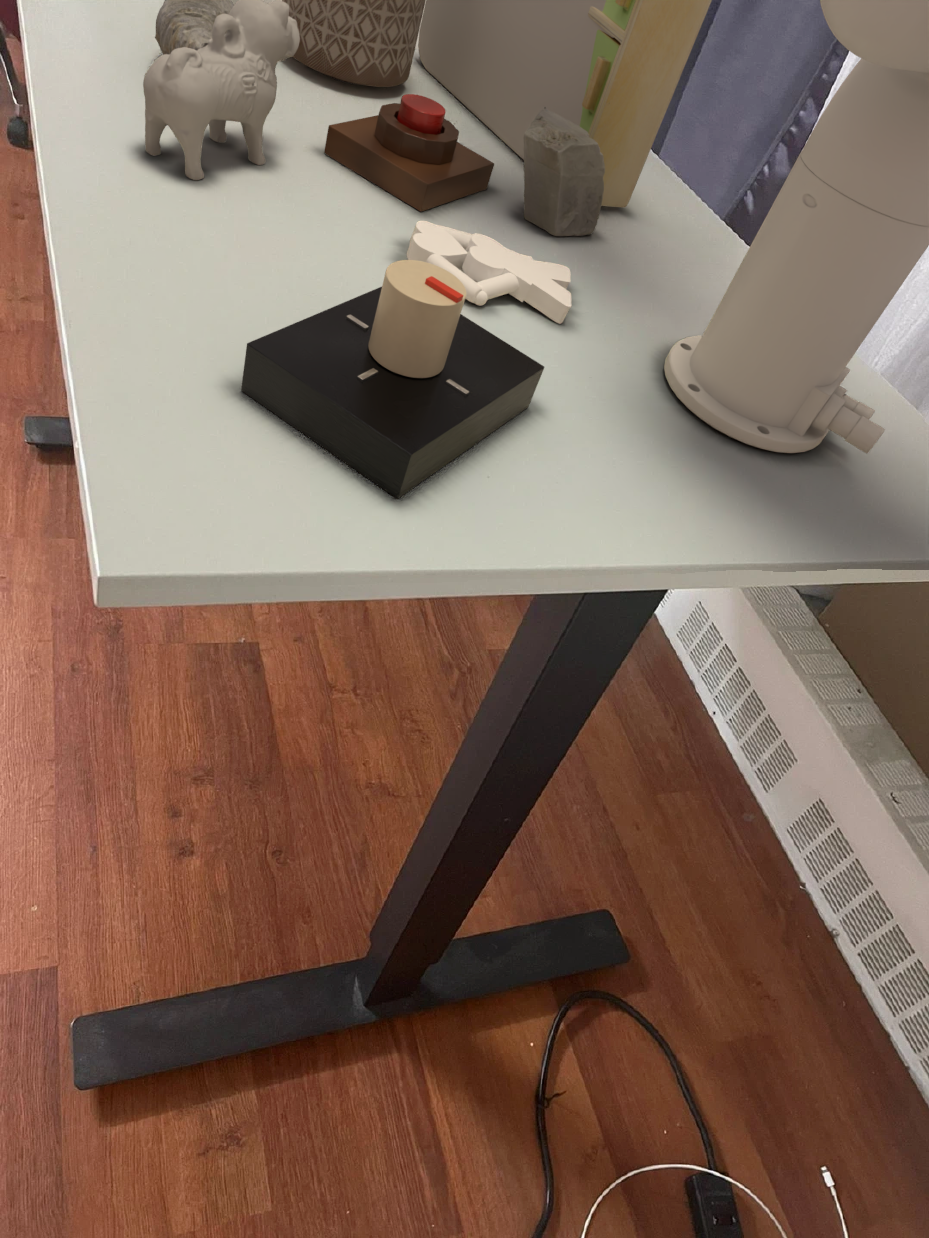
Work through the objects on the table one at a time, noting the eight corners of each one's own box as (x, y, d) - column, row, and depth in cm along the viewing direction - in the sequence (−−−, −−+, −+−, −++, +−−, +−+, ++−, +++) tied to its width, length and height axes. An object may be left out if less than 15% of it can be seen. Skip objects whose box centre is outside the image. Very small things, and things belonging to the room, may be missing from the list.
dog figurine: (300, 155, 71) (324, 3, 64) (186, 187, 63) (198, 14, 55) (248, 125, 72) (265, -29, 65) (128, 152, 63) (132, -23, 56)
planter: (267, 29, 88) (282, -100, 81) (391, 58, 93) (415, -61, 86) (285, 81, 81) (303, -56, 73) (418, 109, 85) (448, -16, 78)
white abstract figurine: (414, 222, 68) (424, 195, 66) (557, 285, 71) (569, 261, 69) (400, 276, 62) (411, 248, 60) (558, 343, 64) (571, 317, 63)
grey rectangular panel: (621, 197, 85) (711, -22, 72) (559, 194, 81) (643, -39, 68) (472, 66, 99) (526, -138, 86) (412, 58, 95) (459, -158, 82)
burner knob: (352, 347, 50) (370, 266, 46) (398, 324, 53) (418, 247, 49) (415, 388, 49) (438, 309, 45) (458, 362, 52) (483, 286, 48)
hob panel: (391, 319, 59) (403, 275, 56) (528, 407, 56) (546, 364, 54) (240, 390, 49) (247, 340, 47) (397, 499, 47) (411, 452, 45)
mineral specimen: (515, 178, 79) (565, 91, 73) (588, 243, 79) (643, 161, 73) (475, 192, 74) (525, 100, 68) (553, 262, 74) (610, 176, 68)
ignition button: (448, 134, 73) (454, 111, 72) (423, 140, 71) (428, 117, 70) (413, 114, 74) (419, 91, 73) (387, 120, 72) (392, 96, 70)
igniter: (487, 189, 77) (501, 141, 75) (420, 212, 71) (433, 160, 68) (396, 136, 79) (407, 87, 77) (323, 153, 73) (332, 101, 70)
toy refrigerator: (521, 159, 83) (612, -118, 69) (585, 167, 87) (685, -95, 72) (560, 203, 79) (666, -82, 64) (626, 210, 83) (741, -60, 68)
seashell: (254, 19, 80) (240, -76, 73) (236, 134, 76) (219, 45, 68) (182, 12, 80) (160, -85, 72) (159, 127, 75) (134, 37, 68)
